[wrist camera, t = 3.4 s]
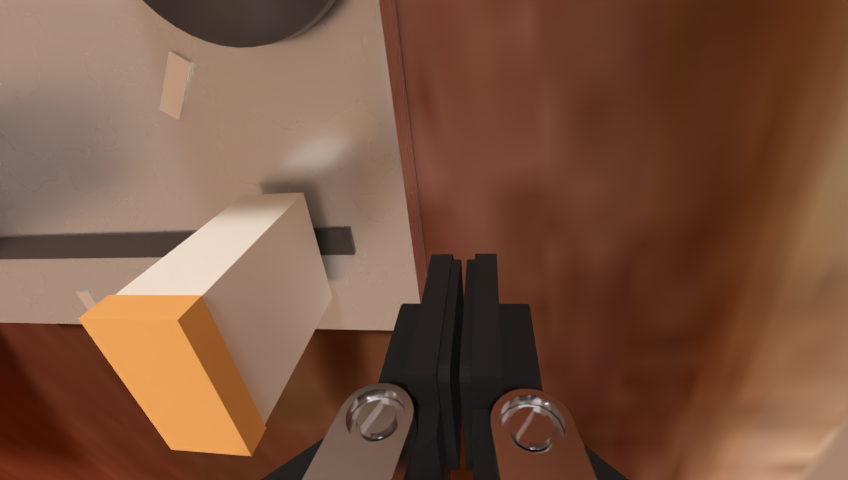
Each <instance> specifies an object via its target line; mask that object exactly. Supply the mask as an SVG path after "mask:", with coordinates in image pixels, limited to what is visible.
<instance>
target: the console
mask: <svg viewBox="0 0 848 480" xmlns="http://www.w3.org/2000/svg"><path fill="white" fill-rule="evenodd" d="M279 193H304V197H305V200H306V204H307V207H308V211H309V215H310V218H311V222H312V225H313V229H314V233H315V236H316V240H317V244H318V247H319V251H320V254H321V258H322V262H323V265H324V269H325V272H326V276H327V280H328V283H329V287H330V290H331V294H332V299H331V301H330V302H329V304H328V306H327V308H326V310H325V312H324V314H323V316H322V318H321V319H320V321H319V323H318V325H317V327H316V329H344V330H392V331H393V330H394V327H395V323H396V320H397V317H398V313H399V310H400V307H401V305H402V304H403V303H416V304H421V300H422V296H423V291H424V287H425V282H426V278H427V273H428V272H427V264H426V255H425V247H424V239H423V230H422V222H421V213H420V205H419V197H418V188H417V180H416V171H415V163H414V154H413V146H412V138H411V129H410V121H409V112H408V104H407V95H406V87H405V79H404V70H403V62H402V53H401V45H400V37H399V28H398V20H397V11H396V3H395V0H335V2H334V3H333V5H332V6H331V8H330V9H329V10H328V11H327V12H326V13H325V14H324V16H323V17H322V18H321V19H320V20H319V21H318V22H316V23H315V24H314V25H313V26H312V27H310V28H309V29H308V30H306V31H304V32H303V33H301V34H299V35H298V36H296V37H293V38H291V39H288V40H285V41H283V42H278V43H273V44H268V45H262V46H257V47H244V48H236V47H227V46H221V45H217V44H213V43H210V42H206V41H204V40H201V39H199V38H196V37H194V36H191V35H189V34H188V33H186V32H184V31H182V30H180V29H179V28H177V27H175V26H174V25H172V24H171V23H169V22H168V21H167V20H165V19H164V18H162V17H161V16H159V15H158V14H157V13H156V12H155V11H154V10H153V9H151V8H150V7H149V6H148V5H147V4H146V3H145V2H144V1H143V0H0V322H5V323H54V324H82V323H81V322H80V320H79V319H78V318H79V317H81V316H82V315H83V314H85V313H86V312H87V311H88V310H90V309H91V308H92V307H94V306H95V305H96V304H98V303H99V302H100V301H102V300H103V299H104V298H105V297H107V296H108V295H115V294H117V293H118V292H119V291H120V290H122V289H123V288H124V287H126V286H127V285H128V284H129V283H131V282H132V281H133V280H135V279H136V278H137V277H138V276H140V275H141V274H142V273H144V272H145V271H146V270H147V269H149V268H150V267H151V266H153V265H154V264H155V263H156V262H158V261H159V260H160V259H162V258H163V257H164V256H165V255H167V254H168V253H169V252H171V251H172V250H173V249H174V248H176V247H177V246H178V245H180V244H181V243H182V242H183V241H185V240H186V239H187V238H189V237H190V236H191V235H192V234H194V233H195V232H196V231H198V230H199V229H200V228H201V227H203V226H204V225H205V224H207V223H208V222H209V221H210V220H212V219H213V218H214V217H216V216H217V215H218V214H219V213H221V212H222V211H223V210H225V209H226V208H227V207H228V206H230V205H231V204H232V203H234V202H235V201H236V200H237V199H239V198H240V197H241V196H243V195H256V194H279Z"/></svg>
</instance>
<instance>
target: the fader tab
mask: <svg viewBox="0 0 848 480" xmlns="http://www.w3.org/2000/svg"><path fill="white" fill-rule="evenodd" d="M331 299H332V294H331V290H330V287H329V283H328V280H327V276H326V272H325V269H324V265H323V262H322V258H321V254H320V251H319V247H318V244H317V240H316V236H315V233H314V229H313V225H312V222H311V218H310V215H309V211H308V207H307V204H306V200H305V197H304V193H279V194H256V195H243V196H241V197H240V198H239V199H237V200H236V201H235V202H234V203H232V204H231V205H230V206H228V207H227V208H226V209H225V210H223V211H222V212H221V213H219V214H218V215H217V216H216V217H214V218H213V219H212V220H210V221H209V222H208V223H207V224H205V225H204V226H203V227H201V228H200V229H199V230H198V231H196V232H195V233H194V234H192V235H191V236H190V237H189V238H187V239H186V240H185V241H183V242H182V243H181V244H180V245H178V246H177V247H176V248H174V249H173V250H172V251H171V252H169V253H168V254H167V255H165V256H164V257H163V258H162V259H160V260H159V261H158V262H156V263H155V264H154V265H153V266H151V267H150V268H149V269H147V270H146V271H145V272H144V273H142V274H141V275H140V276H138V277H137V278H136V279H135V280H133V281H132V282H131V283H129V284H128V285H127V286H126V287H124V288H123V289H122V290H120V291H119V292H118V293H117V294H115V295H108V296H107V297H105V298H104V299H103V300H102V301H100V302H99V303H98V304H96V305H95V306H94V307H92V308H91V309H90V310H88V311H87V312H86V313H85V314H83V315H82V316H81V317H79V318H78V319H79V320H80V322H81V323H82V325H83V326H84V328H85V329H86V330H87V332H88V333H89V335H90V336H91V337H92V339H93V340H94V342H95V343H96V344H97V346H98V347H99V349H100V350H101V351H102V353H103V354H104V356H105V357H106V358H107V360H108V361H109V363H110V364H111V366H112V367H113V368H114V370H115V371H116V373H117V374H118V375H119V377H120V378H121V380H122V381H123V382H124V384H125V385H126V387H127V388H128V389H129V391H130V392H131V394H132V395H133V396H134V398H135V399H136V401H137V402H138V404H139V405H140V406H141V408H142V409H143V411H144V412H145V413H146V415H147V416H148V418H149V419H150V420H151V422H152V423H153V425H154V426H155V427H156V429H157V430H158V432H159V433H160V434H161V436H162V437H163V439H164V440H165V442H166V443H167V444H168V446H169V447H170V449H171V450H183V451H195V452H207V453H219V454H232V455H244V456H252V454H253V452H254V451H255V449H256V447H257V445H258V443H259V441H260V439H261V437H262V435H263V433H264V431H265V429H266V427H265V423H266V421H267V420H268V418H269V416H270V414H271V412H272V410H273V408H274V406H275V404H276V403H277V401H278V399H279V397H280V395H281V393H282V391H283V389H284V387H285V386H286V384H287V382H288V380H289V378H290V376H291V374H292V372H293V370H294V369H295V367H296V365H297V363H298V361H299V359H300V357H301V355H302V353H303V352H304V350H305V348H306V346H307V344H308V342H309V340H310V338H311V336H312V335H313V333H314V331H315V329H316V327H317V325H318V323H319V321H320V319H321V318H322V316H323V314H324V312H325V310H326V308H327V306H328V304H329V302H330V301H331Z"/></svg>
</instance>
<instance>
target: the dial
mask: <svg viewBox="0 0 848 480" xmlns="http://www.w3.org/2000/svg"><path fill="white" fill-rule="evenodd" d="M143 1H144V2H145V3H146V4H147V5H148V6H149V7H150V8H151V9H153V10H154V11H155V12H156V13H157V14H158V15H159V16H161V17H162V18H164V19H165V20H167V21H168V22H169V23H171V24H172V25H174V26H175V27H177V28H179V29H180V30H182V31H184V32H186V33H188V34H189V35H191V36H194V37H196V38H199V39H201V40H204V41H206V42H210V43H213V44H217V45H221V46H227V47H236V48H244V47H257V46H262V45H268V44H273V43H278V42H283V41H285V40H288V39H291V38H293V37H296V36H298V35H299V34H301V33H303V32H304V31H306V30H308V29H309V28H310V27H312V26H313V25H314V24H315V23H316V22H318V21H319V20H320V19H321V18H322V17H323V16H324V14H325V13H326V12H327V11H328V10H329V9H330V8H331V6H332V5H333V3H334V2H335V0H143Z"/></svg>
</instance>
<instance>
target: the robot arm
mask: <svg viewBox="0 0 848 480" xmlns="http://www.w3.org/2000/svg"><path fill="white" fill-rule="evenodd" d="M462 420H463V432H464V445H465V457H466V469H467V471H473V472H474V480H628V479H626V478H625V477H624V476H623V475H621V474H620V473H619V472H618V471H616V470H615V469H614V468H613V467H611V466H610V465H609V464H608V463H606V462H605V461H604V460H603V459H601V458H600V457H599V456H597V455H596V454H595V453H594V452H592V451H591V450H590V449H589V448H587V447H586V446H585V445H584V444H583V442H582V440H581V437H580V435H579V432H578V430H577V427H576V425H575V422H574V419H573V418H572V416H571V414H570V412H569V411H568V409H567V408H566V407H565V406H564V405H563V404H562V403H561V402H560V401H559V400H558V399H557V398H555V397H553V396H551V395H550V394H548V393H546V392H543V391H542V384H541V378H540V371H539V365H538V358H537V352H536V345H535V339H534V332H533V326H532V319H531V313H530V307H529V304H499V298H498V277H497V256H496V254H475V259H473V260H467V268H466V282H465V296H464V297H463V281H462V266H461V260H454V259H453V254H441V255H432V256H431V260H430V264H429V269H428V273H427V278H426V282H425V287H424V291H423V296H422V300H421V304H416V303H403V304H402V305H401V307H400V310H399V313H398V317H397V320H396V323H395V327H394V330H393V334H392V337H391V341H390V344H389V348H388V351H387V354H386V358H385V361H384V365H383V368H382V372H381V375H380V379H379V382H378V383H375V384H371V385H367V386H365V387H363V388H361V389H359V390H357V391H355V392H354V393H353V394H352V395H351V396H349V397H348V398H347V400H346V401H345V402H344V404H343V405H342V406H341V408H340V410H339V412H338V414H337V416H336V417H335V419H334V421H333V423H332V425H331V427H330V429H329V430H328V432H327V434H326V436H325V437H324V438H323V439H321V440H320V441H318V442H317V443H315V444H314V445H312V446H311V447H309V448H308V449H306V450H305V451H303V452H302V453H300V454H299V455H297V456H296V457H294V458H293V459H291V460H290V461H288V462H287V463H285V464H284V465H282V466H281V467H279V468H278V469H276V470H275V471H273V472H272V473H270V474H269V475H267V476H266V477H264V478H263V479H261V480H450V470H459V466H460V449H461V432H462Z"/></svg>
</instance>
